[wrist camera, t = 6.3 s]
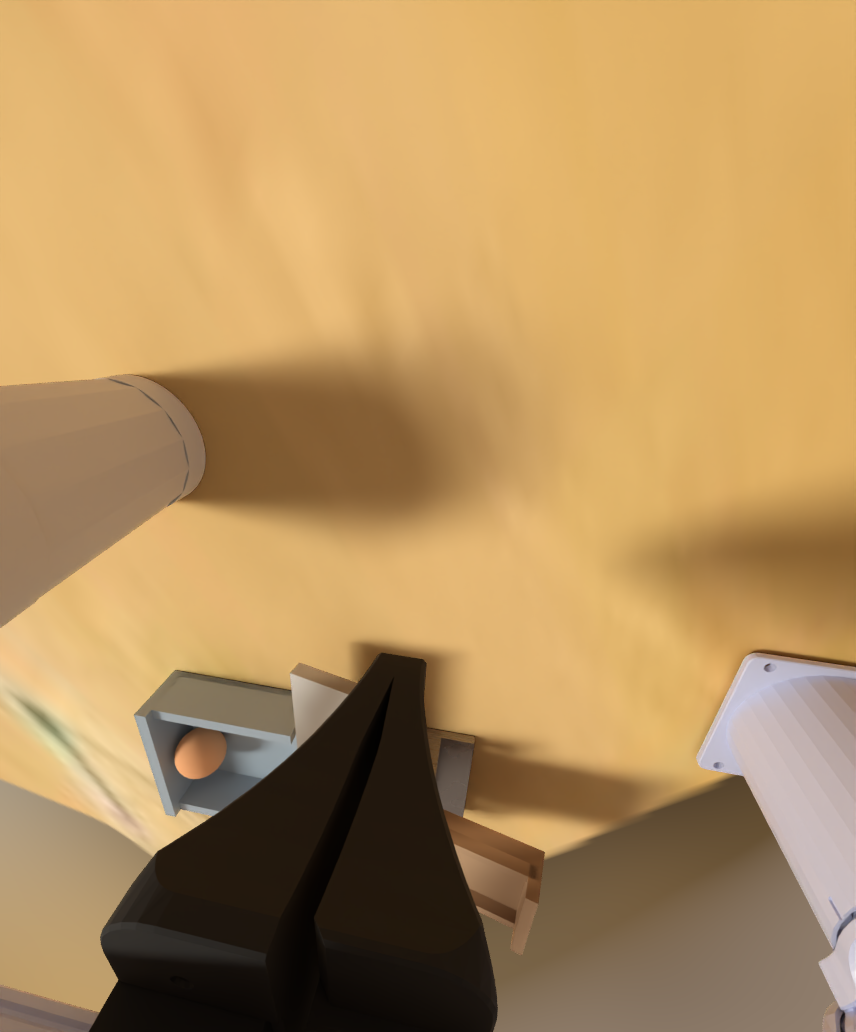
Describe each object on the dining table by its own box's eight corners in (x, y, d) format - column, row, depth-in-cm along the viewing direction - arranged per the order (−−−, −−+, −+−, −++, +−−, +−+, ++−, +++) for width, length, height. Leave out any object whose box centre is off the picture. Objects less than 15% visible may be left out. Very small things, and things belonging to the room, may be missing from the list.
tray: (311, 694, 27) (285, 744, 24) (318, 790, 31) (297, 843, 28) (175, 670, 28) (134, 714, 25) (198, 765, 32) (165, 814, 29)
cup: (251, 447, 21) (-18, 593, 10) (172, 542, 24) (-97, 729, 13) (111, 315, 19) (-387, 320, 8) (45, 435, 22) (-378, 550, 12)
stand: (475, 736, 27) (468, 822, 22) (463, 809, 30) (456, 898, 25) (378, 719, 27) (353, 799, 23) (377, 792, 30) (354, 875, 26)
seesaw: (572, 759, 19) (568, 810, 17) (528, 905, 24) (520, 957, 22) (299, 662, 23) (270, 694, 21) (311, 805, 28) (289, 841, 26)
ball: (231, 735, 28) (182, 767, 26) (237, 766, 29) (191, 799, 27) (210, 708, 30) (162, 736, 28) (216, 738, 31) (171, 767, 29)
